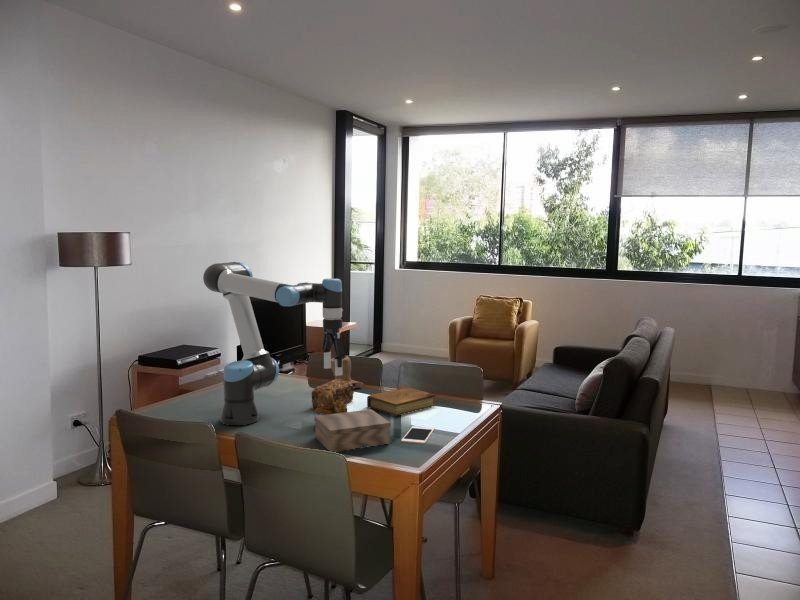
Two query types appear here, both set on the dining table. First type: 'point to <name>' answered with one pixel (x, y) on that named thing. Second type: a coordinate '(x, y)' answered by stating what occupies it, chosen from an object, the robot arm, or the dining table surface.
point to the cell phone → (418, 434)
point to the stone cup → (345, 372)
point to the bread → (340, 388)
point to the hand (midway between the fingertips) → (333, 371)
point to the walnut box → (352, 430)
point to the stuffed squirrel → (329, 404)
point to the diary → (400, 401)
